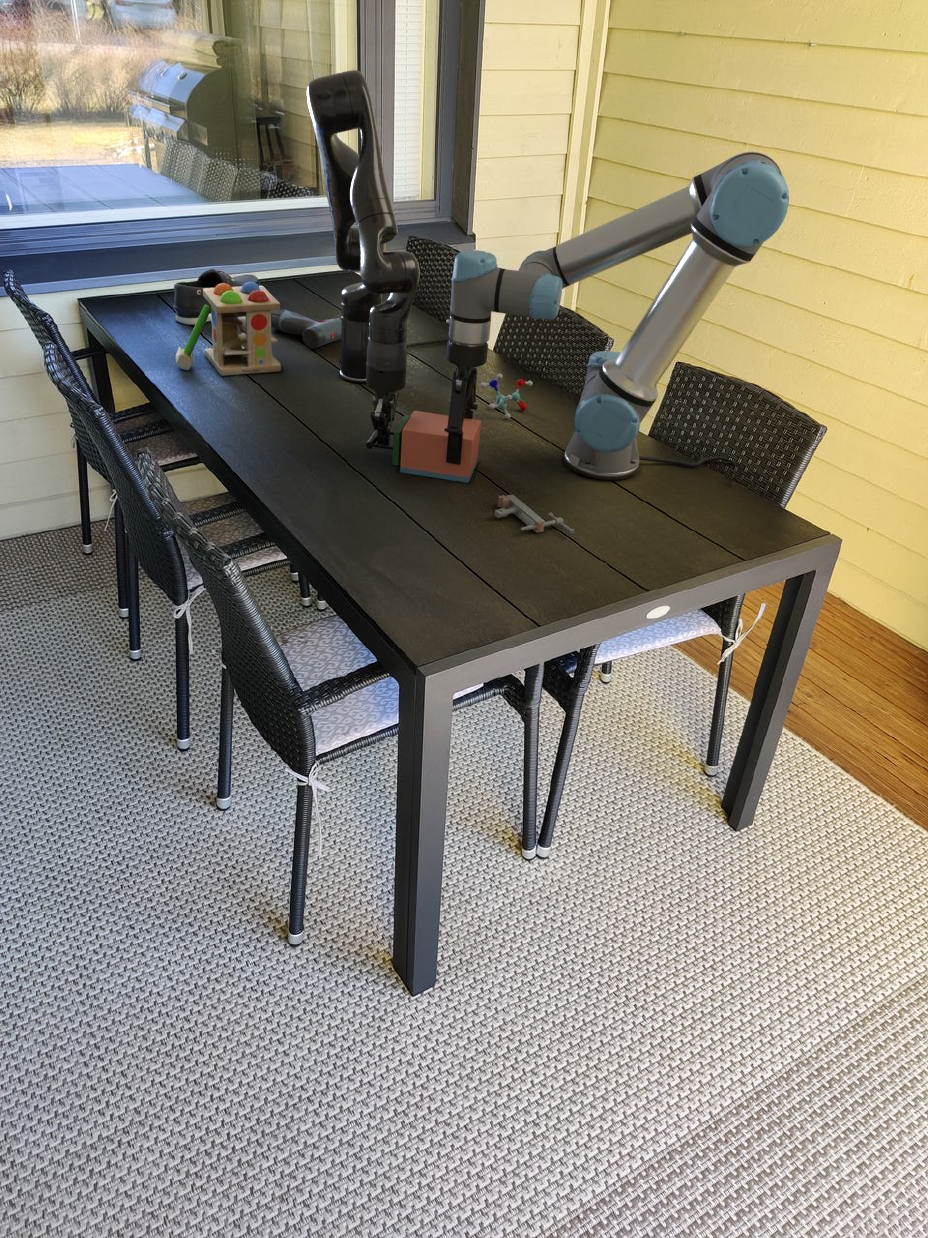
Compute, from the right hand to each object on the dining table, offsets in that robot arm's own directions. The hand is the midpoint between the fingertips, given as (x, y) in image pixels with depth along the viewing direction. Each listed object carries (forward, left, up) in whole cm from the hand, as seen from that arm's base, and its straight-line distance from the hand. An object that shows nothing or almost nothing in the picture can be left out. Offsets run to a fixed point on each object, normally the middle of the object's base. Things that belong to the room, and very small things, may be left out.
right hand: (458, 451), depth 192 cm
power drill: (+23, -80, -4) cm, 83 cm away
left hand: (+14, -6, -1) cm, 15 cm away
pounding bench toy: (+44, -57, -4) cm, 72 cm away
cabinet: (+3, -1, -4) cm, 5 cm away
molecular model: (-16, -29, -4) cm, 34 cm away
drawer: (+8, -3, -3) cm, 9 cm away
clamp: (-9, +22, -4) cm, 24 cm away
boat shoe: (+46, -99, -4) cm, 109 cm away
